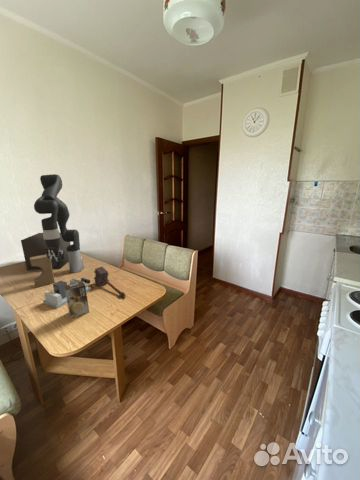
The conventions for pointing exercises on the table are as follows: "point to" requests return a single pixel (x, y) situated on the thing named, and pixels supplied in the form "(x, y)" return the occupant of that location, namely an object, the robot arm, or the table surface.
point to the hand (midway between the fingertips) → (56, 266)
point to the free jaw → (80, 281)
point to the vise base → (56, 298)
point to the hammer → (105, 279)
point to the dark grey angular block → (41, 250)
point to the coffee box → (76, 299)
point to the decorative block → (43, 270)
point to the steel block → (60, 288)
